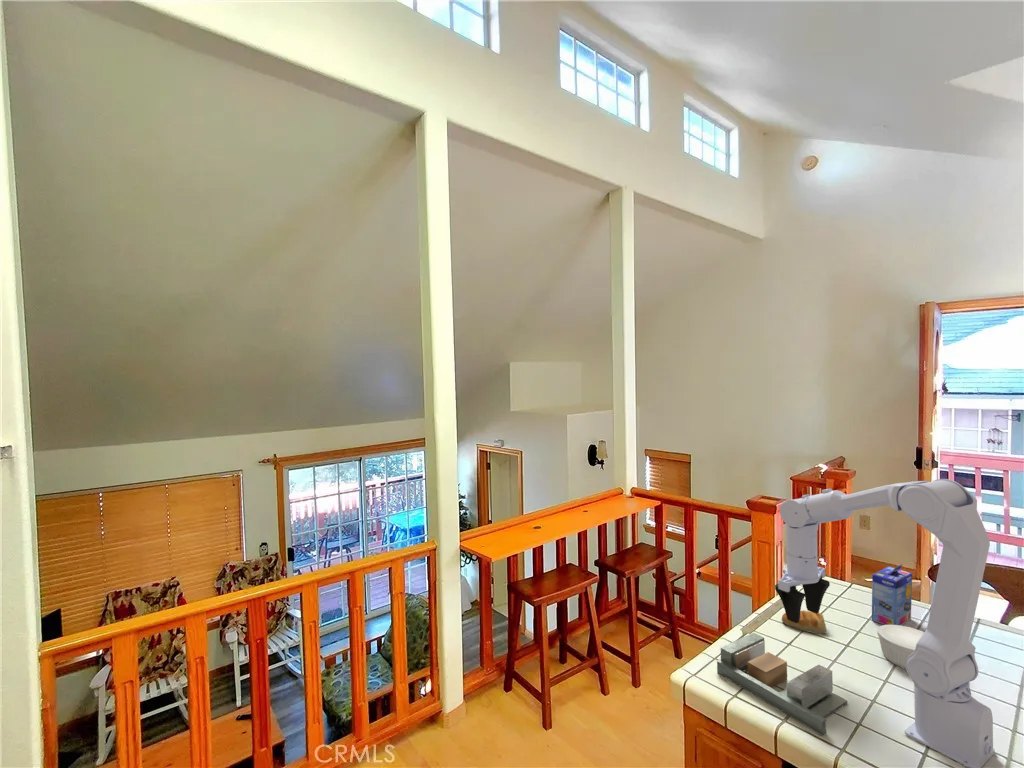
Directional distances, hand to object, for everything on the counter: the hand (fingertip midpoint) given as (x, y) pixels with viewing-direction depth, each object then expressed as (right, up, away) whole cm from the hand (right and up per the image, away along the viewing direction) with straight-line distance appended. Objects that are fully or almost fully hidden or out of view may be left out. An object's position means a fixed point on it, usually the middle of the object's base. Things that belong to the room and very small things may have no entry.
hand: (803, 616), depth 103 cm
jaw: (-6, -10, -12) cm, 17 cm away
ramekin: (+24, -10, 0) cm, 26 cm away
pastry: (+10, -11, +15) cm, 21 cm away
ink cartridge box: (+33, -10, +17) cm, 39 cm away
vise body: (-8, -11, -8) cm, 16 cm away
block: (-11, -11, -5) cm, 16 cm away
